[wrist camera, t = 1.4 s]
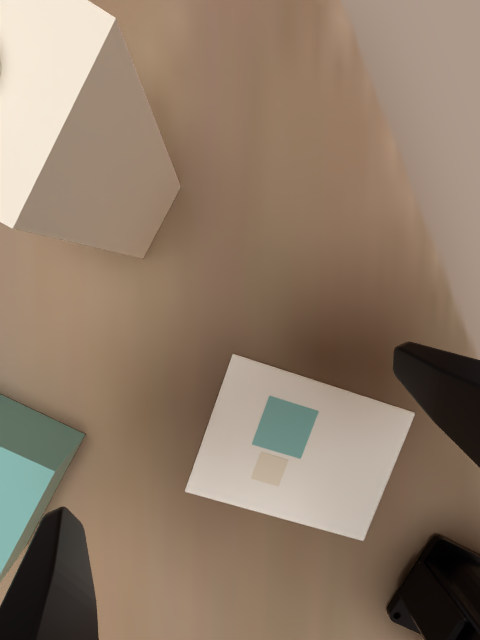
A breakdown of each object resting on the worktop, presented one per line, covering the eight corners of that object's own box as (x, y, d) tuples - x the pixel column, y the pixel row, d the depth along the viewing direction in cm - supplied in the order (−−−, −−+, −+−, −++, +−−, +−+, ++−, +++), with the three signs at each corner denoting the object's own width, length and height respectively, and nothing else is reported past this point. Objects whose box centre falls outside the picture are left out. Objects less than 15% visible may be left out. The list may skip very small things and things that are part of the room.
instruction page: (413, 412, 22) (416, 413, 22) (361, 538, 23) (363, 541, 23) (232, 353, 21) (232, 354, 21) (185, 489, 22) (184, 492, 22)
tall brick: (181, 187, 20) (102, -16, 6) (143, 258, 20) (-13, 222, 6) (106, 143, 19) (-168, -191, 5) (68, 218, 19) (-279, 81, 6)
